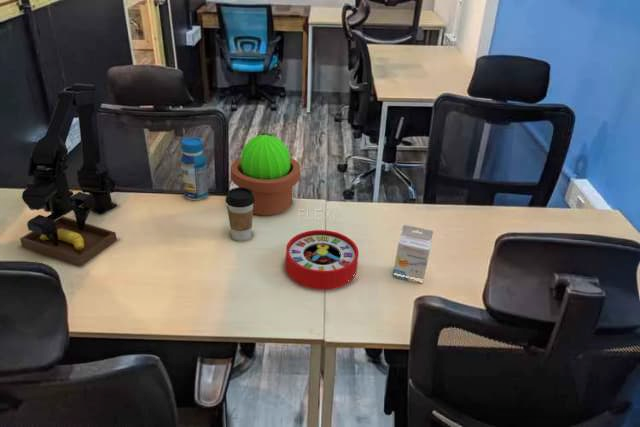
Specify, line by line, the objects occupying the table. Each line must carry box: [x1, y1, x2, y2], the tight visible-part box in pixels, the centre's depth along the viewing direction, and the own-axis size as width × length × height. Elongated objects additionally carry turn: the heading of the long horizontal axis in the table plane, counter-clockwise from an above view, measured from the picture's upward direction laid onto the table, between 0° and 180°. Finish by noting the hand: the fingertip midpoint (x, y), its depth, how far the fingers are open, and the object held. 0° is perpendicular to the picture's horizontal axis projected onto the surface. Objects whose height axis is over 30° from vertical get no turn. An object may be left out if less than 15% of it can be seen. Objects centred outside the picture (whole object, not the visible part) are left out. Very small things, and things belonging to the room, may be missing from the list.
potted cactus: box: [230, 132, 301, 216], centre depth 165 cm, size 22×22×25 cm
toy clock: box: [285, 229, 359, 291], centre depth 141 cm, size 20×6×20 cm
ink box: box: [392, 224, 434, 284], centre depth 138 cm, size 8×5×15 cm, turn 72°
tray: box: [19, 216, 118, 268], centre depth 145 cm, size 21×14×3 cm
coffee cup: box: [225, 186, 255, 242], centre depth 150 cm, size 8×8×15 cm
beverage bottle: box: [180, 136, 210, 201], centre depth 168 cm, size 8×8×20 cm
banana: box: [38, 229, 84, 252], centre depth 144 cm, size 15×6×3 cm, turn 68°
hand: (68, 237), depth 145 cm, fingers open, 9 cm apart
